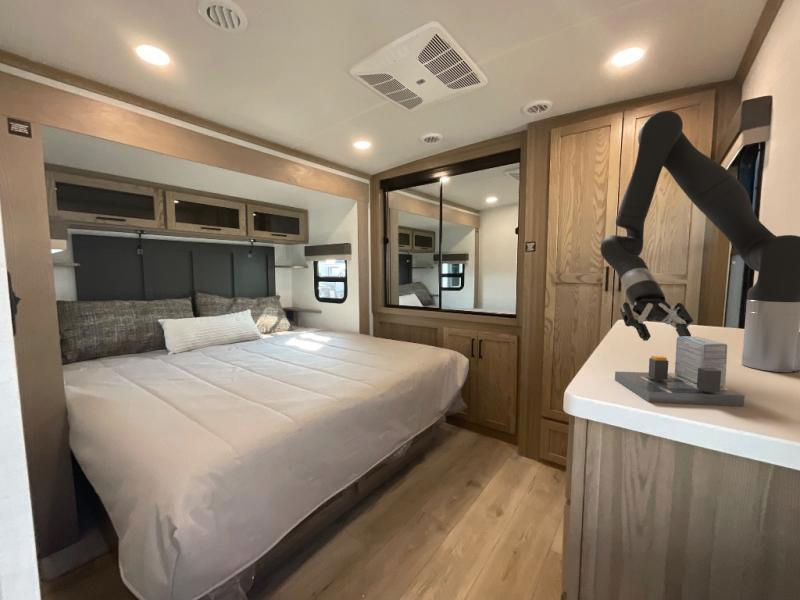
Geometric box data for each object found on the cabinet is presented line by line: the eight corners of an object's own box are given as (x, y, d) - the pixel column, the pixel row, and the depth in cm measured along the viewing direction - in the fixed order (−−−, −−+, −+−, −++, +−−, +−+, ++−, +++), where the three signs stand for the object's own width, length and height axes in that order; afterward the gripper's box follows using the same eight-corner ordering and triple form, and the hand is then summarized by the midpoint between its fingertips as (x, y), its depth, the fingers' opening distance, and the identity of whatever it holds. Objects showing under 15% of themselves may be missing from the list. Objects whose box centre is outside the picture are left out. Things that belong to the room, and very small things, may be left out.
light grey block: (725, 387, 65) (729, 344, 64) (700, 386, 66) (703, 343, 65) (696, 375, 73) (698, 336, 72) (673, 374, 73) (676, 335, 73)
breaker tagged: (661, 376, 71) (662, 355, 70) (667, 379, 69) (668, 358, 68) (648, 376, 71) (649, 355, 71) (654, 379, 69) (655, 357, 69)
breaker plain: (711, 388, 64) (712, 368, 63) (719, 392, 62) (721, 371, 61) (696, 387, 64) (698, 367, 64) (704, 391, 62) (706, 370, 62)
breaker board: (692, 382, 74) (693, 373, 74) (743, 406, 61) (744, 395, 61) (614, 379, 76) (615, 371, 76) (648, 402, 63) (649, 391, 63)
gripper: (618, 279, 87) (641, 329, 77) (678, 279, 85) (710, 331, 75) (607, 297, 93) (627, 347, 82) (663, 297, 91) (691, 348, 81)
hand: (666, 339), depth 79 cm, fingers open, 8 cm apart
